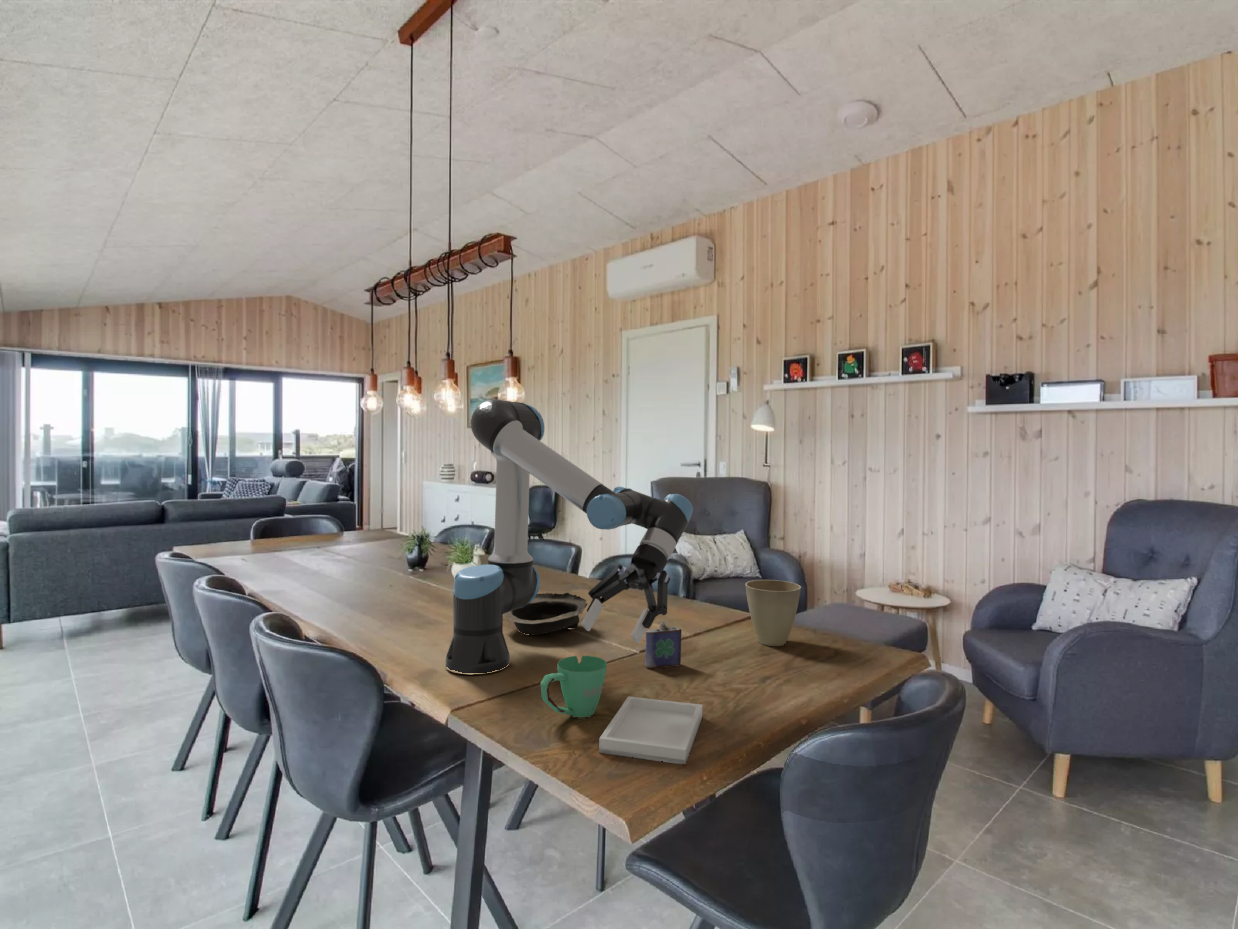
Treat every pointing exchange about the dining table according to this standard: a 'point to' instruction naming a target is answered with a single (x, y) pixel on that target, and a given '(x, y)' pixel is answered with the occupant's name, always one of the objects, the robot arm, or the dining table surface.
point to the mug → (577, 685)
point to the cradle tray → (652, 730)
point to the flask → (663, 647)
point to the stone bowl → (548, 613)
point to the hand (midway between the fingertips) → (608, 633)
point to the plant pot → (772, 609)
